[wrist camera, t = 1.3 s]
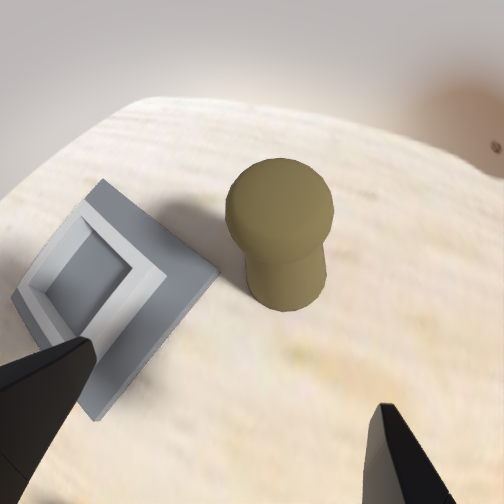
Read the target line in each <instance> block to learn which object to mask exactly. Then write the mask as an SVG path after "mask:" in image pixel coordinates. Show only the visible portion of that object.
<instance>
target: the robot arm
mask: <svg viewBox="0 0 504 504" xmlns="http://www.w3.org/2000/svg"><path fill="white" fill-rule="evenodd" d="M96 363H97V356H96V352H95V349H94V346H93V343H92V341H91V340H90V339H89V338H86V337H83V336H78V337H76V338H73V339H71V340H68V341H66V342H63V343H60V344H58V345H55V346H53V347H50V348H47V349H45V350H42V351H40V352H37V353H34V354H32V355H29V356H26V357H24V358H21V359H18V360H16V361H13V362H11V363H8V364H5V365H3V366H0V504H18V502H19V500H20V498H21V496H22V494H23V492H24V490H25V489H26V487H27V485H28V483H29V481H30V479H31V477H32V476H33V474H34V472H35V470H36V468H37V467H38V465H39V463H40V461H41V460H42V458H43V456H44V454H45V453H46V451H47V449H48V448H49V446H50V444H51V443H52V441H53V439H54V437H55V436H56V434H57V432H58V431H59V429H60V428H61V426H62V424H63V423H64V421H65V419H66V418H67V416H68V415H69V413H70V411H71V410H72V408H73V407H74V405H75V403H76V402H77V400H78V398H79V397H80V395H81V393H82V391H83V389H84V387H85V385H86V383H87V381H88V379H89V377H90V375H91V373H92V371H93V369H94V367H95V365H96ZM448 493H449V491H448V489H447V487H446V486H445V484H444V482H443V481H442V479H441V477H440V476H439V474H438V473H437V471H436V469H435V468H434V466H433V465H432V463H431V461H430V460H429V458H428V457H427V455H426V453H425V452H424V450H423V449H422V447H421V445H420V444H419V442H418V441H417V439H416V438H415V436H414V434H413V433H412V431H411V430H410V428H409V427H408V425H407V423H406V422H405V420H404V419H403V417H402V416H401V414H400V413H399V411H398V410H397V408H396V407H395V405H394V404H392V403H380V404H379V405H378V406H377V408H376V410H375V412H374V414H373V416H372V418H371V420H370V424H369V430H368V439H367V448H366V456H365V463H364V471H363V497H362V504H456V502H455V500H454V499H453V497H452V495H451V494H450V493H449V494H448Z"/></svg>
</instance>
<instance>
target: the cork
mask: <svg viewBox="0 0 504 504" xmlns="http://www.w3.org/2000/svg"><path fill="white" fill-rule="evenodd" d="M333 215H334V206H333V201H332V195H331V192H330V190H329V188H328V186H327V184H326V183H325V181H324V179H323V178H322V177H321V176H320V175H319V174H318V173H316V172H315V171H314V170H313V169H312V168H310V167H309V166H307V165H305V164H303V163H301V162H299V161H296V160H292V159H285V158H275V159H266V160H264V161H261V162H258V163H255V164H253V165H252V166H250V167H249V168H247V169H246V170H244V171H243V172H242V173H241V174H240V175H239V177H238V178H237V179H236V180H235V182H234V183H233V184H232V185H231V187H230V190H229V192H228V195H227V198H226V210H225V220H226V223H227V226H228V228H229V231H230V234H231V236H232V238H233V240H234V241H235V242H236V243H237V244H238V246H239V247H240V248H241V249H242V250H243V251H244V252H245V265H246V279H247V283H248V286H249V289H250V291H251V293H252V294H253V296H254V297H255V298H256V299H257V300H258V302H260V303H261V304H263V305H264V306H266V307H268V308H269V309H273V310H277V311H281V312H287V311H296V310H299V309H301V308H304V307H306V306H308V305H309V304H311V303H312V302H313V301H314V300H315V299H316V298H318V296H319V294H320V293H321V291H322V289H323V288H324V285H325V280H326V276H327V273H326V265H325V257H324V250H323V242H324V241H325V239H326V237H327V236H328V234H329V232H330V230H331V225H332V220H333Z"/></svg>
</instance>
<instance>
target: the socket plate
mask: <svg viewBox="0 0 504 504" xmlns="http://www.w3.org/2000/svg"><path fill="white" fill-rule="evenodd" d="M219 274H220V272H219V270H218V269H217V268H216V267H215V266H213V265H212V264H211V263H209V262H208V261H207V260H205V259H204V258H203V257H201V256H200V255H199V254H198V253H196V252H195V251H194V250H192V249H191V248H190V247H188V246H187V245H186V244H185V243H183V242H182V241H181V240H179V239H178V238H177V237H176V236H174V235H173V234H172V233H170V232H169V231H168V230H167V229H165V228H164V227H163V226H162V225H160V224H159V223H158V222H156V221H155V220H154V219H153V218H151V217H150V216H149V215H148V214H146V213H145V212H144V211H143V210H141V209H140V208H139V207H138V206H136V205H135V204H134V203H133V202H131V201H130V200H129V199H128V198H126V197H125V196H124V195H123V194H121V193H120V192H119V191H118V190H117V189H115V188H114V187H113V186H112V185H110V184H109V183H108V182H107V181H105V180H104V179H102V180H101V181H100V182H99V183H98V184H97V185H96V186H95V187H94V189H93V190H92V191H91V192H90V193H89V194H88V195H87V196H86V198H85V199H83V200H82V201H81V202H80V203H79V204H78V206H77V207H76V208H75V209H74V210H73V212H72V213H71V214H70V215H69V216H68V218H67V219H66V220H65V221H64V223H63V224H62V225H61V226H60V228H59V229H58V230H57V231H56V233H55V234H54V235H53V237H52V238H51V239H50V240H49V242H48V243H47V244H46V246H45V247H44V248H43V250H42V251H41V253H40V254H39V255H38V257H37V258H36V259H35V261H34V262H33V264H32V265H31V267H30V268H29V269H28V271H27V272H26V274H25V275H24V277H23V278H22V280H21V281H20V283H19V284H18V286H17V289H16V290H15V292H14V293H13V295H12V296H11V299H12V301H13V303H14V305H15V307H16V309H17V310H18V312H19V314H20V316H21V318H22V320H23V321H24V323H25V325H26V327H27V328H28V330H29V332H30V333H31V335H32V337H33V338H34V340H35V342H36V343H37V345H38V347H39V348H40V350H41V351H42V350H45V349H47V348H50V347H53V346H55V345H58V344H60V343H63V342H66V341H68V340H71V339H73V338H76V337H78V336H83V337H86V338H89V339H90V340H91V341H92V343H93V346H94V349H95V352H96V356H97V363H96V365H95V367H94V369H93V371H92V373H91V375H90V377H89V379H88V381H87V383H86V385H85V387H84V389H83V391H82V393H81V395H80V397H79V398H78V400H77V402H78V403H79V405H80V406H81V407H82V408H83V410H84V411H85V412H86V413H87V415H88V416H89V417H90V418H91V419H92V421H93V422H94V421H100V420H101V419H102V418H103V416H104V415H105V414H106V413H107V411H108V410H109V409H110V408H111V406H112V405H113V404H114V403H115V401H116V400H117V399H118V398H119V397H120V395H121V394H122V393H123V392H124V390H125V389H126V388H127V387H128V385H129V384H130V383H131V382H132V380H133V379H134V378H135V377H136V375H137V374H138V373H139V372H140V370H141V369H142V368H143V367H144V366H145V364H146V363H147V362H148V361H149V359H150V358H151V357H152V356H153V354H154V353H155V352H156V351H157V350H158V348H159V347H160V346H161V345H162V343H163V342H164V341H165V340H166V338H167V337H168V336H169V335H170V334H171V332H172V331H173V330H174V329H175V327H176V326H177V325H178V324H179V323H180V321H181V320H182V319H183V318H184V316H185V315H186V314H187V313H188V312H189V310H190V309H191V308H192V307H193V306H194V304H195V303H196V302H197V301H198V299H199V298H200V297H201V296H202V295H203V293H204V292H205V291H206V290H207V289H208V287H209V286H210V285H211V284H212V282H213V281H214V280H215V279H216V278H217V276H218V275H219Z"/></svg>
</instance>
